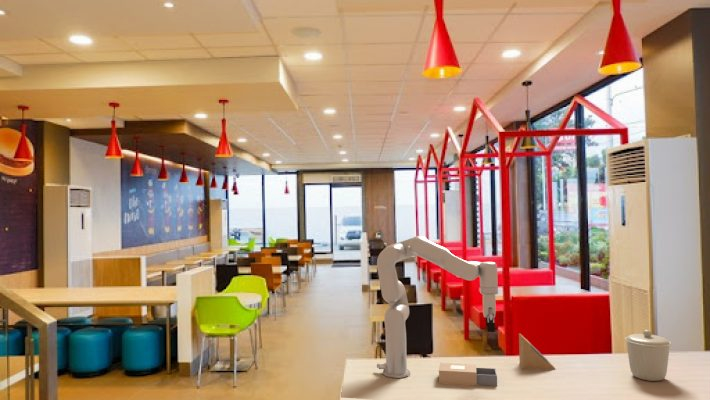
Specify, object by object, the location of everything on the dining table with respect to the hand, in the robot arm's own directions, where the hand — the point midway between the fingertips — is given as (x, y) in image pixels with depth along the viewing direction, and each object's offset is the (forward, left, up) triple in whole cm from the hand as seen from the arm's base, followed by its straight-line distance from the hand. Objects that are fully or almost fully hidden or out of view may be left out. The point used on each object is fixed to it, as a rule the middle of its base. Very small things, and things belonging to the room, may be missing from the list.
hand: (490, 329), depth 226 cm
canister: (+69, +18, -23) cm, 75 cm away
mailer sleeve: (-14, -1, -23) cm, 27 cm away
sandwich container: (+23, +26, -24) cm, 42 cm away
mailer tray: (-5, -1, -23) cm, 23 cm away
